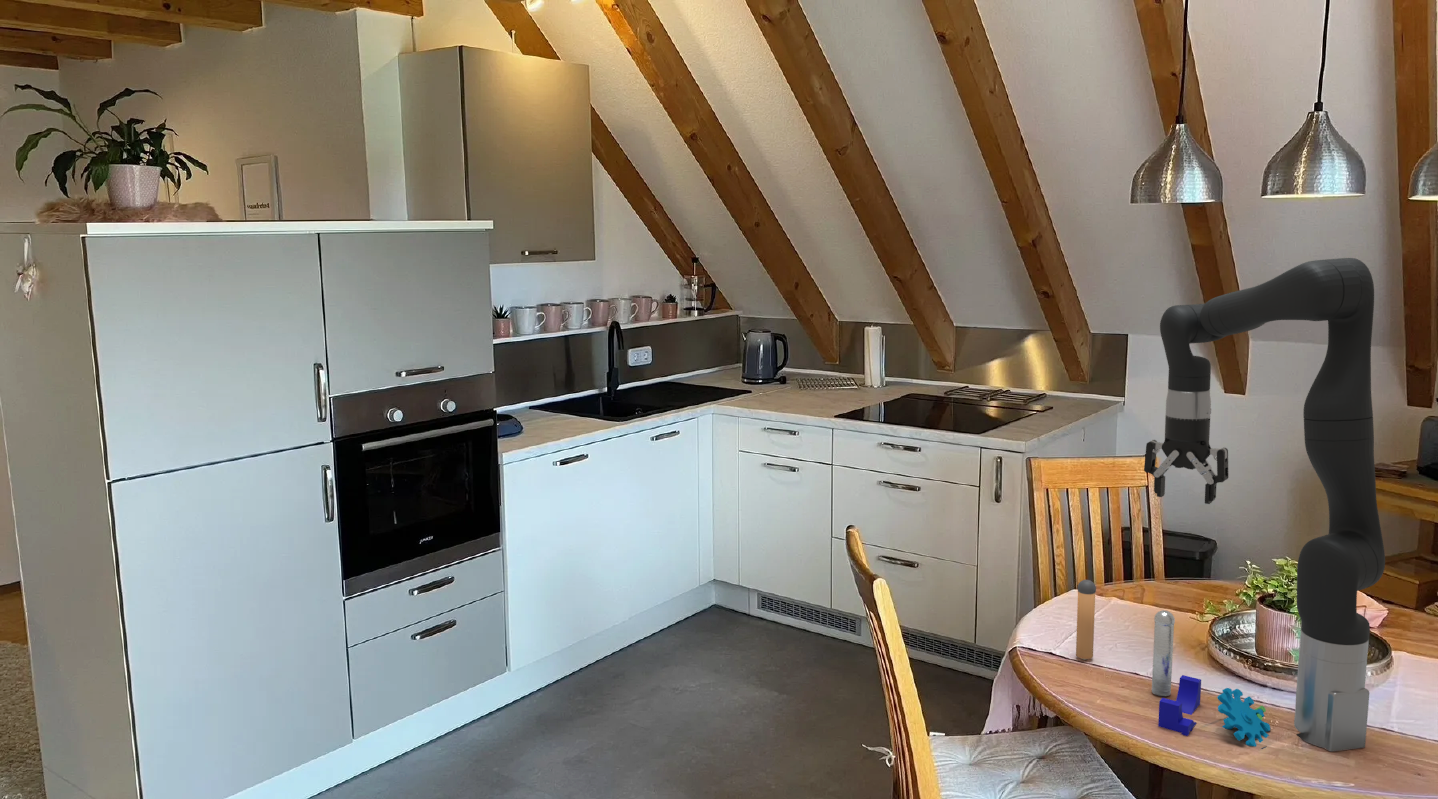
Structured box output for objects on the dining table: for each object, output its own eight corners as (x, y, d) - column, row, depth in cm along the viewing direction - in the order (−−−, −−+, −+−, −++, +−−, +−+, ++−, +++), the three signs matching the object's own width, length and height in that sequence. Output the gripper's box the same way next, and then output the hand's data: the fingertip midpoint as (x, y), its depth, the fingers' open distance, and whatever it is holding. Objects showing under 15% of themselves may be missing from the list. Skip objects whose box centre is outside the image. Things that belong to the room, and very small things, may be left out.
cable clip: (1187, 744, 168) (1188, 708, 167) (1157, 736, 171) (1159, 701, 170) (1209, 715, 177) (1210, 681, 176) (1180, 708, 180) (1182, 675, 179)
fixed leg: (1175, 696, 181) (1179, 612, 178) (1162, 701, 179) (1166, 615, 177) (1159, 689, 184) (1163, 606, 181) (1146, 694, 182) (1150, 609, 179)
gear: (1250, 751, 162) (1213, 690, 167) (1221, 766, 165) (1185, 706, 171) (1288, 739, 168) (1251, 680, 173) (1259, 754, 172) (1223, 696, 177)
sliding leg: (1097, 659, 196) (1100, 581, 193) (1084, 663, 194) (1087, 584, 191) (1083, 653, 198) (1086, 576, 196) (1071, 657, 197) (1073, 579, 194)
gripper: (1140, 413, 196) (1138, 498, 199) (1222, 420, 187) (1218, 510, 189) (1155, 407, 202) (1152, 490, 204) (1235, 414, 192) (1231, 501, 195)
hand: (1184, 499), depth 197 cm, fingers open, 8 cm apart
